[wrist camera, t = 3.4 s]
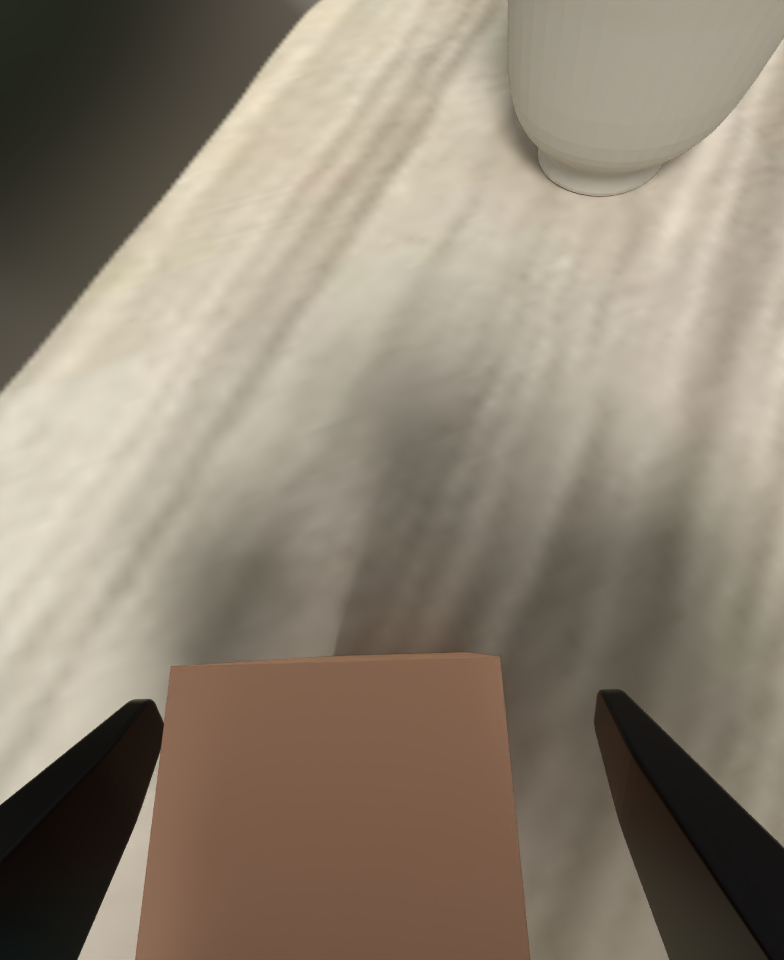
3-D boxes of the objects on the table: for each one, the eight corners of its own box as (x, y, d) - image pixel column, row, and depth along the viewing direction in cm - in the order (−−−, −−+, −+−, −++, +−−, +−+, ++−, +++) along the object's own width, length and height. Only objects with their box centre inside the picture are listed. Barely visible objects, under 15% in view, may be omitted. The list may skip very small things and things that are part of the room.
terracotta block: (469, 652, 16) (500, 657, 6) (482, 816, 14) (549, 1151, 5) (333, 656, 16) (171, 665, 7) (330, 815, 14) (116, 1120, 5)
